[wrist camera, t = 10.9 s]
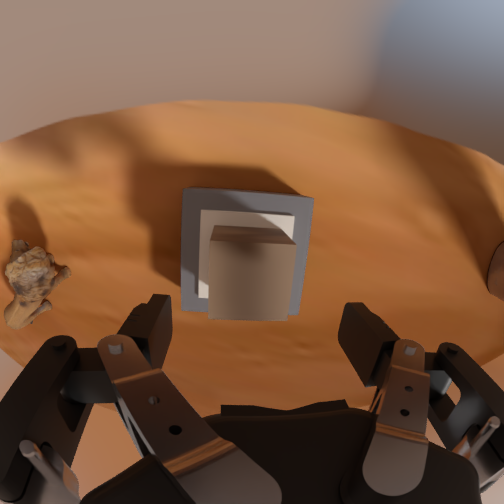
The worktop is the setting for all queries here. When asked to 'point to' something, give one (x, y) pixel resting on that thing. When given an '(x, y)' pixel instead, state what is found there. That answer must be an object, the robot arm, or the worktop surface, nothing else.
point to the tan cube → (250, 273)
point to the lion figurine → (30, 283)
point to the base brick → (245, 215)
